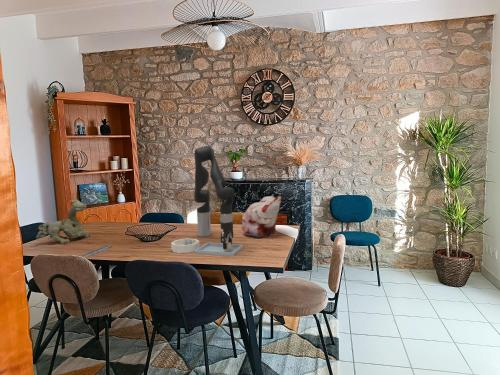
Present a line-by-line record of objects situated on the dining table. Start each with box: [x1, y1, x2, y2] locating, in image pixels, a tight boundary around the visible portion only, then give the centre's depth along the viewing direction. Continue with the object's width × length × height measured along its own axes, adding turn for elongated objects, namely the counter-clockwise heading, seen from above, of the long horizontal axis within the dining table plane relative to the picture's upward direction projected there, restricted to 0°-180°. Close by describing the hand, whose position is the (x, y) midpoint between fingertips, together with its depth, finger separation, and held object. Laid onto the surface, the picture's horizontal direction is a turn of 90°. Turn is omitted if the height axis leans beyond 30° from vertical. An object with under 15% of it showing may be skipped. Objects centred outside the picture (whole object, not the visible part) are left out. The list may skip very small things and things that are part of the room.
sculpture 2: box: [241, 195, 282, 238], centre depth 262 cm, size 31×29×30 cm
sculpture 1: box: [35, 198, 91, 245], centre depth 257 cm, size 29×27×30 cm
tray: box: [194, 242, 244, 257], centre depth 223 cm, size 18×24×3 cm
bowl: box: [170, 238, 201, 254], centre depth 227 cm, size 16×16×5 cm
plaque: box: [81, 245, 115, 259], centre depth 227 cm, size 33×10×1 cm, turn 163°
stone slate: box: [185, 238, 192, 245], centre depth 229 cm, size 4×4×5 cm
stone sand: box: [224, 241, 232, 252], centre depth 221 cm, size 4×4×5 cm
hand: (227, 247), depth 220 cm, fingers open, 8 cm apart
